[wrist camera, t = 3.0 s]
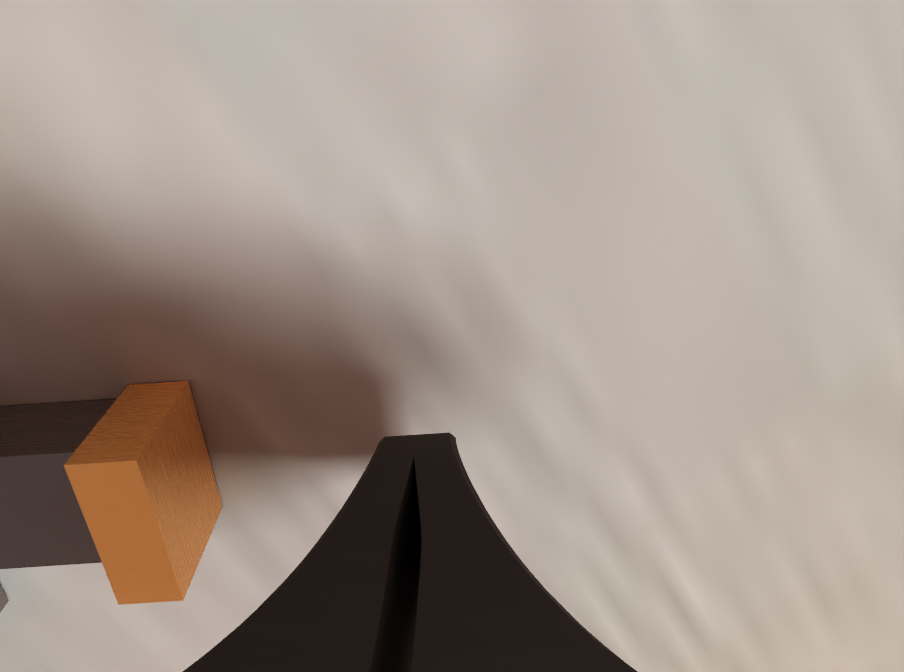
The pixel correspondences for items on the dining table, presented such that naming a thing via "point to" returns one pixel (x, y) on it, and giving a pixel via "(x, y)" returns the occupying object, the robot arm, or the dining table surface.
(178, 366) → the dining table surface
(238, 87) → the dining table surface
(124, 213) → the dining table surface
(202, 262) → the dining table surface
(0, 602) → the socket block
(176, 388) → the drift key
